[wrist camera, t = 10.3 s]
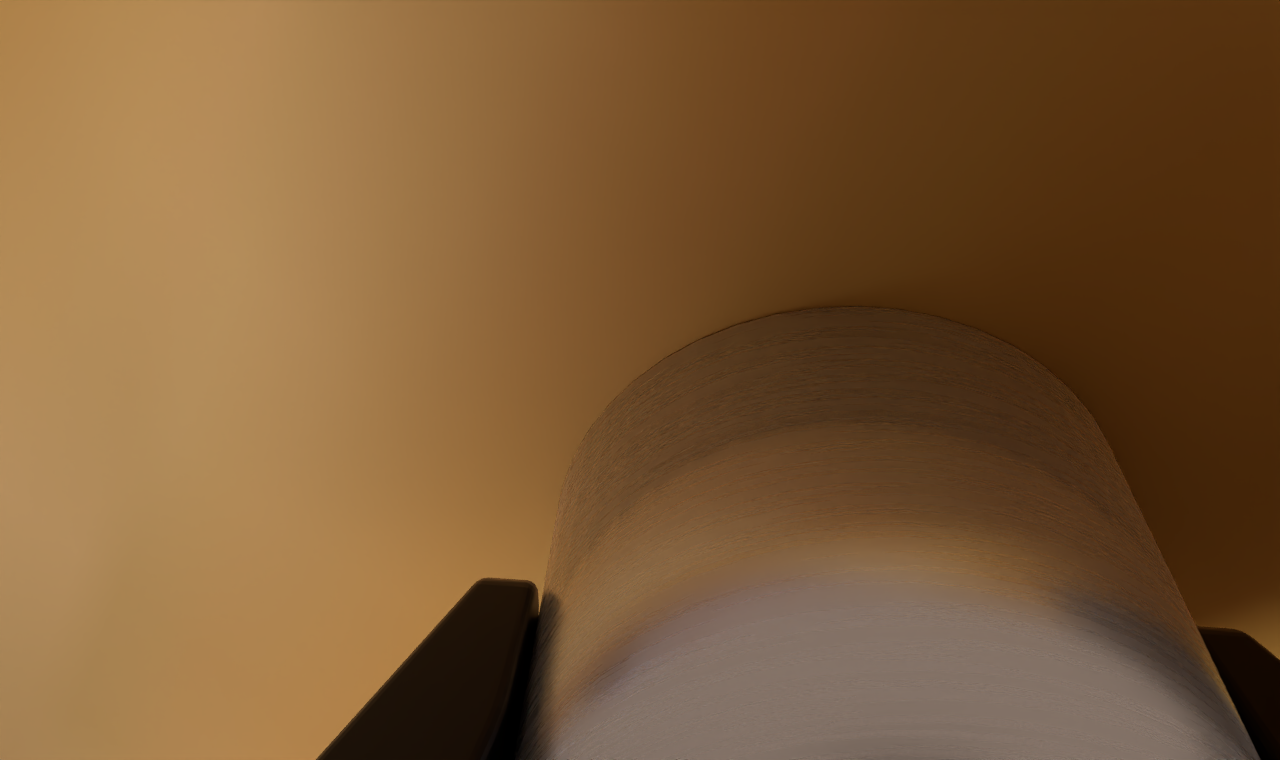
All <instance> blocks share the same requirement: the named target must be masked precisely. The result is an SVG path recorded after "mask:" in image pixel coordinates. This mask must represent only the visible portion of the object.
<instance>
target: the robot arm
mask: <svg viewBox="0 0 1280 760" xmlns="http://www.w3.org/2000/svg"><path fill="white" fill-rule="evenodd" d="M538 618H539V600H538V589H537V588H536V586H535V584H534V583H532V582H531V581H528V580H515V579H500V578H483V579H481V580H479V581H477V582H476V583H475V584H474V585H473V586H472V587H471V588H470V589H469V590H468V591H467V592H466V594H465V595H464V596H463V597H462V598H461V599H460V600H459V601H458V602H457V604H456V605H455V606H454V607H453V608H452V609H451V610H450V611H449V612H448V614H447V615H446V616H445V617H444V618H443V619H442V620H441V621H440V622H439V624H438V625H437V626H436V627H435V628H434V629H433V630H432V631H431V632H430V634H429V635H428V636H427V637H426V638H425V639H424V640H423V641H422V642H421V644H420V645H419V646H418V647H417V648H416V649H415V650H414V651H413V652H412V653H411V655H410V656H409V657H408V658H407V659H406V660H405V661H404V662H403V663H402V665H401V666H400V667H399V668H398V669H397V670H396V671H395V672H394V673H393V675H392V676H391V677H390V678H389V679H388V680H387V681H386V682H385V683H384V685H383V686H382V687H381V688H380V689H379V690H378V691H377V692H376V693H375V695H374V696H373V697H372V698H371V699H370V700H369V701H368V702H367V703H366V705H365V706H364V707H363V708H362V709H361V710H360V711H359V712H358V713H357V715H356V716H355V717H354V718H353V719H352V720H351V721H350V722H349V723H348V725H347V726H346V727H345V728H344V729H343V730H342V731H341V732H340V733H339V735H338V736H337V737H336V738H335V739H334V740H333V741H332V742H331V743H330V745H329V746H328V747H327V748H326V749H325V750H324V751H323V752H322V753H321V755H320V756H319V757H318V758H317V759H316V760H513V757H514V752H515V746H516V740H517V735H518V729H519V724H520V718H521V712H522V707H523V701H524V696H525V690H526V685H527V679H528V673H529V668H530V662H531V657H532V651H533V646H534V640H535V634H536V629H537V623H538ZM1196 627H1197V629H1198V631H1199V633H1200V635H1201V637H1202V639H1203V641H1204V643H1205V645H1206V647H1207V649H1208V651H1209V653H1210V656H1211V658H1212V660H1213V662H1214V664H1215V666H1216V668H1217V670H1218V672H1219V674H1220V676H1221V678H1222V680H1223V683H1224V685H1225V687H1226V689H1227V691H1228V693H1229V695H1230V697H1231V699H1232V701H1233V703H1234V705H1235V707H1236V710H1237V712H1238V714H1239V716H1240V718H1241V720H1242V722H1243V724H1244V726H1245V728H1246V730H1247V732H1248V734H1249V736H1250V739H1251V741H1252V743H1253V745H1254V747H1255V749H1256V751H1257V753H1258V755H1259V757H1260V759H1261V760H1280V660H1279V659H1278V658H1277V657H1276V656H1274V655H1273V654H1272V653H1271V652H1269V651H1268V650H1267V649H1266V648H1265V647H1263V646H1262V645H1261V644H1260V643H1258V642H1257V641H1256V640H1255V639H1254V638H1252V637H1251V636H1249V635H1248V634H1246V633H1244V632H1242V631H1239V630H1235V629H1227V628H1213V627H1199V626H1196Z"/></svg>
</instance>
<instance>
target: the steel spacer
mask: <svg viewBox="0 0 1280 760" xmlns="http://www.w3.org/2000/svg"><path fill="white" fill-rule="evenodd" d="M513 760H1261V759H1260V757H1259V755H1258V753H1257V751H1256V749H1255V747H1254V745H1253V743H1252V741H1251V739H1250V736H1249V734H1248V732H1247V730H1246V728H1245V726H1244V724H1243V722H1242V720H1241V718H1240V716H1239V714H1238V712H1237V710H1236V707H1235V705H1234V703H1233V701H1232V699H1231V697H1230V695H1229V693H1228V691H1227V689H1226V687H1225V685H1224V683H1223V680H1222V678H1221V676H1220V674H1219V672H1218V670H1217V668H1216V666H1215V664H1214V662H1213V660H1212V658H1211V656H1210V653H1209V651H1208V649H1207V647H1206V645H1205V643H1204V641H1203V639H1202V637H1201V635H1200V633H1199V631H1198V629H1197V627H1196V624H1195V622H1194V620H1193V618H1192V616H1191V614H1190V612H1189V610H1188V608H1187V606H1186V604H1185V602H1184V600H1183V597H1182V595H1181V593H1180V591H1179V589H1178V587H1177V585H1176V583H1175V581H1174V579H1173V577H1172V575H1171V573H1170V570H1169V568H1168V566H1167V564H1166V562H1165V560H1164V558H1163V556H1162V554H1161V552H1160V550H1159V548H1158V546H1157V543H1156V541H1155V539H1154V537H1153V535H1152V533H1151V531H1150V529H1149V527H1148V525H1147V523H1146V521H1145V519H1144V517H1143V514H1142V512H1141V510H1140V508H1139V506H1138V504H1137V502H1136V500H1135V498H1134V496H1133V494H1132V492H1131V490H1130V487H1129V485H1128V483H1127V481H1126V479H1125V477H1124V475H1123V473H1122V471H1121V469H1120V467H1119V465H1118V463H1117V460H1116V458H1115V456H1114V454H1113V452H1112V450H1111V448H1110V446H1109V444H1108V442H1107V440H1106V438H1105V437H1104V435H1103V433H1102V432H1101V430H1100V428H1099V426H1098V425H1097V423H1096V421H1095V419H1094V418H1093V416H1092V414H1091V413H1090V412H1089V411H1088V410H1087V408H1086V407H1085V406H1084V405H1083V404H1082V402H1081V401H1080V400H1079V399H1078V397H1077V396H1076V395H1075V394H1074V393H1073V391H1072V390H1071V389H1070V388H1069V387H1068V386H1066V385H1065V384H1064V383H1063V382H1062V381H1061V380H1060V379H1059V378H1057V377H1056V376H1055V375H1054V374H1053V373H1052V372H1051V371H1049V370H1048V369H1047V368H1046V367H1045V366H1044V365H1042V364H1041V363H1039V362H1037V361H1036V360H1034V359H1033V358H1031V357H1030V356H1028V355H1027V354H1025V353H1024V352H1022V351H1021V350H1019V349H1017V348H1016V347H1014V346H1013V345H1010V344H1008V343H1006V342H1004V341H1002V340H1000V339H998V338H996V337H993V336H991V335H989V334H987V333H985V332H983V331H981V330H979V329H975V328H972V327H969V326H966V325H963V324H960V323H957V322H954V321H951V320H947V319H944V318H941V317H937V316H931V315H926V314H921V313H916V312H911V311H905V310H900V309H887V308H873V307H860V306H856V307H831V308H814V309H807V310H801V311H794V312H788V313H781V314H775V315H771V316H767V317H764V318H760V319H756V320H753V321H749V322H745V323H742V324H738V325H735V326H732V327H730V328H727V329H725V330H722V331H720V332H717V333H715V334H712V335H710V336H707V337H705V338H702V339H700V340H697V341H696V342H694V343H692V344H690V345H688V346H687V347H685V348H683V349H681V350H679V351H678V352H676V353H674V354H672V355H670V356H668V357H667V358H665V359H663V360H662V361H660V362H659V363H658V364H656V365H655V366H654V367H652V368H651V369H649V370H648V371H647V372H645V373H644V374H643V375H641V376H640V377H639V378H637V379H636V380H634V381H633V382H632V383H631V384H630V385H629V386H628V387H627V388H626V389H625V390H624V391H623V392H622V393H621V394H620V395H619V396H618V397H617V398H616V399H614V400H613V401H612V402H611V403H610V404H609V405H608V407H607V408H606V409H605V410H604V412H603V413H602V414H601V415H600V417H599V418H598V419H597V421H596V422H595V423H594V424H593V426H592V427H591V428H590V430H589V431H588V432H587V434H586V436H585V438H584V439H583V441H582V443H581V445H580V447H579V448H578V450H577V452H576V454H575V455H574V457H573V459H572V462H571V465H570V467H569V470H568V473H567V475H566V478H565V481H564V483H563V486H562V491H561V496H560V501H559V507H558V512H557V517H556V523H555V528H554V534H553V539H552V545H551V551H550V556H549V562H548V567H547V573H546V579H545V584H544V590H543V595H542V601H541V606H540V612H539V618H538V623H537V629H536V634H535V640H534V646H533V651H532V657H531V662H530V668H529V673H528V679H527V685H526V690H525V696H524V701H523V707H522V712H521V718H520V724H519V729H518V735H517V740H516V746H515V752H514V757H513Z"/></svg>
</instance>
